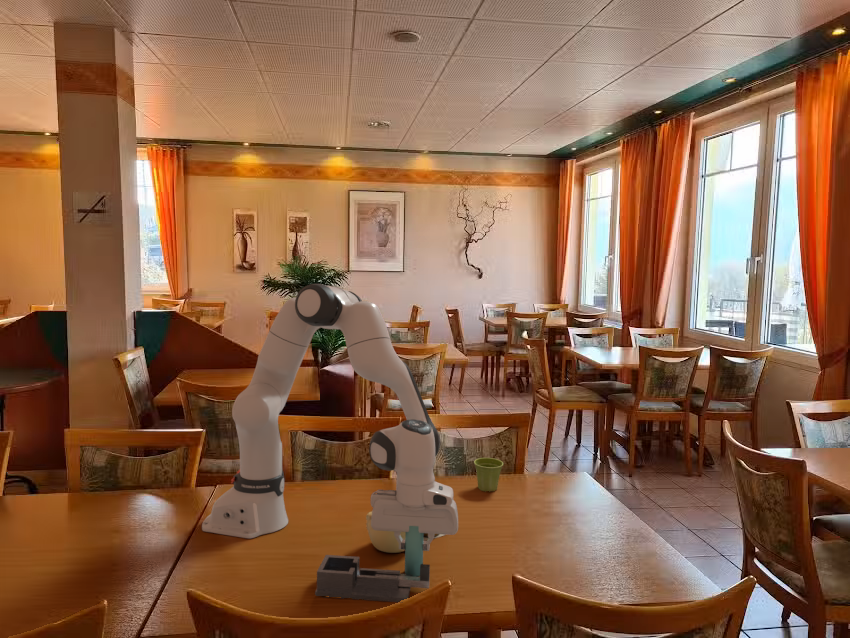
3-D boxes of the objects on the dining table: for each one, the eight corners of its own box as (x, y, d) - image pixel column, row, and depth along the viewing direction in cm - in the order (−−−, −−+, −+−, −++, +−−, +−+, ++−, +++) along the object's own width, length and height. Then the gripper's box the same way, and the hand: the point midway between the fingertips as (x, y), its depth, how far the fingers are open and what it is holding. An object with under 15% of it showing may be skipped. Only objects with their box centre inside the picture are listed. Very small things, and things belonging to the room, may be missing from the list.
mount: (412, 578, 142) (412, 557, 141) (407, 602, 132) (407, 580, 131) (326, 573, 143) (326, 552, 143) (315, 596, 133) (315, 574, 133)
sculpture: (398, 533, 165) (399, 494, 164) (422, 551, 155) (423, 509, 154) (360, 542, 159) (360, 502, 158) (382, 562, 149) (383, 519, 148)
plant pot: (506, 486, 201) (507, 460, 200) (497, 496, 192) (498, 469, 192) (478, 481, 205) (479, 456, 204) (469, 491, 196) (469, 464, 195)
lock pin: (429, 584, 137) (429, 564, 137) (428, 588, 135) (429, 568, 135) (375, 581, 138) (375, 561, 138) (374, 584, 136) (374, 564, 136)
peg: (403, 576, 143) (404, 526, 142) (405, 567, 147) (406, 518, 146) (421, 577, 142) (422, 527, 141) (423, 568, 146) (424, 519, 145)
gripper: (368, 494, 140) (367, 552, 142) (458, 499, 139) (457, 558, 140) (373, 484, 147) (372, 540, 148) (459, 488, 145) (457, 545, 146)
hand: (414, 549), depth 144 cm, fingers closed on peg, 4 cm apart
